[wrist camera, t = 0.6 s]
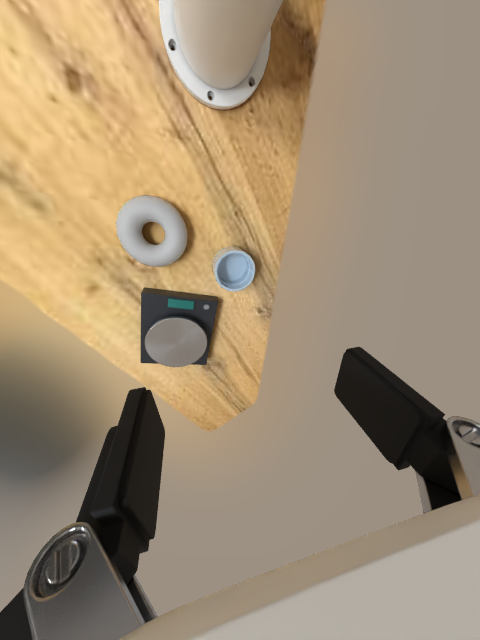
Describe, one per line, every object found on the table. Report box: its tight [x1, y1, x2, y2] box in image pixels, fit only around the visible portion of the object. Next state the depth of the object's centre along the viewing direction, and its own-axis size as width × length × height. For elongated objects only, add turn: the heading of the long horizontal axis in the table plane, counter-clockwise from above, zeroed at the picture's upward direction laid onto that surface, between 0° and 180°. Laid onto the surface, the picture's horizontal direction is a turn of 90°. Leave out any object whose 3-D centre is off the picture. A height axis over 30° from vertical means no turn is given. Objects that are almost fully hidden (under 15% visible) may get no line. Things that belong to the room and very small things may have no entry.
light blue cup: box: [212, 246, 255, 291], centre depth 36 cm, size 7×7×4 cm
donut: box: [116, 195, 187, 267], centre depth 31 cm, size 10×4×10 cm
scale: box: [141, 288, 218, 365], centre depth 40 cm, size 15×13×3 cm
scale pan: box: [145, 316, 207, 367], centre depth 38 cm, size 11×11×1 cm
